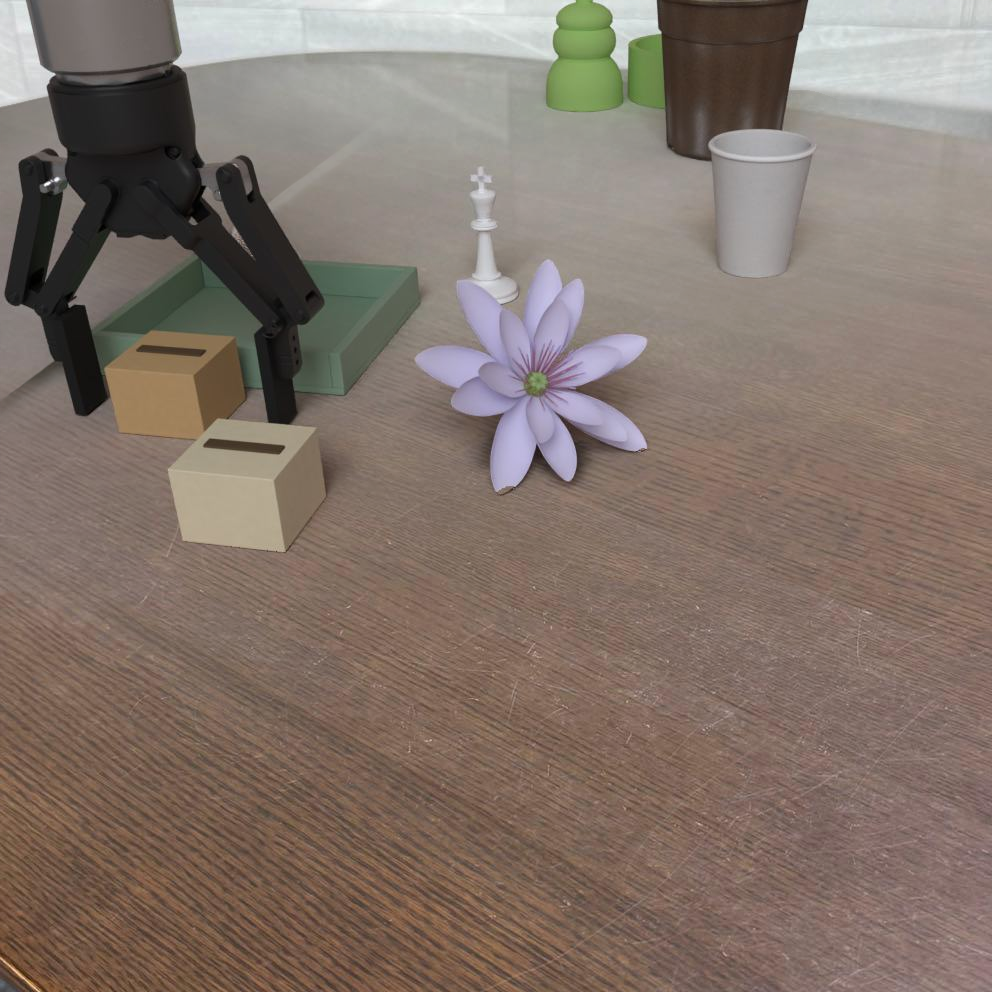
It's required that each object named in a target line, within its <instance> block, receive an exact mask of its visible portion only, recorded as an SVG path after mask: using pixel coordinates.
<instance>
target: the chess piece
mask: <svg viewBox="0 0 992 992" xmlns="http://www.w3.org/2000/svg"><path fill="white" fill-rule="evenodd" d="M494 177H495V176H494V175H491V174H487V172H486V166H484V165H480V166H478V167H477V173H472V174H470V182H476V183H478V188H477V189H474V190H472V191H470V192H469V199H470V202H471V204H472V207H473V211H474V213H475V216H476V217H477V218H476V219H473V220H472V221H470V225H469V226H470V229H472V230H474V231H477V232H478V233H477V234H478V235H477V252H476V264H475V271H474V272H472V273H471V276H469V277H467V278H466V277H465V279H463V280H466V281H470V282H472V283H475V284H477V285H479V286H480V287H482V288H483V289H485V290H486V291H487V292H489V293H490V294H491V295H492V296H493V297H494V298H495V299H496V300H497V301H498V302H499V303H500V305H504V304H507V303H510V302H512V301H514V300H515V299H516V298H517V297H518V296H519V292H520V291H519V289H518V283H517V282H516V281H515V280H514V279H513V278H511V277H508V276H505V275H502V272H501V271H499V270H498V267H497V263H496V257H495V252H494V251H495V250H494V245H493V244H494V243H493V238H492V230H495V229H497V228H498V227H499V224H498V221H497V219H494V218H492V217H491V216H492V213H493V208H494V205H495V202H496V197H497V192H496V191H495V190H493V189H490V188H487V183H489V184H492V183H494V181H495V178H494ZM455 295H456V298H457V299H458V295H457V292H456V293H455Z"/></svg>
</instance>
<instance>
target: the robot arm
mask: <svg viewBox="0 0 992 992" xmlns="http://www.w3.org/2000/svg"><path fill="white" fill-rule="evenodd" d="M25 3H26V7H27V12H28V16H29V19H30V20H29V21H30V25H31V29H32V34H33V38H34V42H35V47H36V52H37V57H38V61H39V64H40V66H41V67H42V68H44V69H45V70H47V71H48V72H50V73H52V74H54V75H53V76H52V77H50V79H49V81H48V83H47V85H46V91H47V96H48V99H49V104H50V108H51V112H52V117H53V121H54V124H55V129H56V133H57V138H58V141H59V143H60V144H61V145H62V146H63V148H64V149H66V157H63V156H60V155H59V154H58V153H57V151H56V150H54V149H53V148H50V147H47V148H46V147H45V148H43V149H41V150H40V151H37V152H35V153H33V154H30V155H28V156H27V157H24V158H23V159H21V160H19V162H18V164H17V165H18V167H17V168H18V175H19V181H20V187H21V193H22V198H21V204H20V209H19V214H18V215H19V216H18V219H17V225H16V229H15V235H14V241H13V246H12V251H11V255H10V261H9V267H8V272H7V277H6V282H5V286H4V293H3V294H4V298H5V301H6V302H7V303H8V304H9V305H10V306H13V307H20V306H21V305H22V306H25V307H27V308H29V309H31V310H33V311H34V312H35V314H36V315H37V316H38V317H40V320H41V324H42V327H43V331H44V335H45V339H46V343H47V345H48V350H49V355H50V357H52V359H53V361H54V363H55V362H57V363H61V364H62V368H63V371H64V375H65V379H66V383H67V384H66V385H67V388H68V391H69V396H70V399H71V403H72V407H73V410H74V414H75V415H82V416H87V415H88V414H89V413H90V412H92V410H94V409H95V408H96V407H97V406H99V405H100V404H101V403H102V402H103V401H105V400H106V399H107V398H108V394H107V391H106V390H107V389H106V386H105V382H104V378H103V375H102V373H101V369H100V365H99V361H98V357H97V353H96V349H95V344H94V340H93V336H92V332H91V329H92V328H91V324H90V320H89V316H88V311H87V307H86V304H75V303H74V304H72V305H71V306H70V305H69V304H70V303H71V302H72V301H74V300H76V299H77V298H78V296H77V295H76V293H77V292H78V289H79V288H80V286H81V285H82V283H83V281H84V280H85V277H86V276H87V274H88V272H89V271H90V269H91V267H92V265H93V263H95V260H96V259H97V257H98V255H99V254H100V252H101V250H102V248H103V246H104V245H105V243H106V242H107V239H108V238H109V236H110V235H111V233H114V234H115V235H116V238H121V239H130V238H134V237H138V236H140V237H141V236H142V237H145V238H147V239H151V240H159V241H165V240H167V239H168V238H169V237H172V238H173V239H174V240H175V241H176V243H177V244H179V246H181V247H182V248H183V249H185V250H188V251H191V252H193V254H194V253H195V254H196V255H197V256H198V257H199V258H200V259H201V260H202V261H203V262H204V264H205V265H206V266H207V267H208V268H209V269H210V270H211V271H212V272H213V273H214V274H215V275H216V276H217V277H218V278H219V279H220V280H221V282H222V283H223V284H224V285H225V286H226V287H227V288H228V289H229V290H230V291H231V292H232V293H233V294H234V295H235V296H236V297H237V298H238V299H239V301H240V302H241V303H242V304H243V305H244V306H245V307H246V308H247V309H248V310H249V311H250V312H251V313H252V314H253V315H254V316H255V317H256V319H257V320H258V321H259V322H260V323H261V324H262V325H263V326H262V327H261V328H260V329H259V330H258V331H257V332H256V333H255V334H254V339H255V345H256V351H257V357H258V363H259V369H260V376H261V382H262V388H263V389H262V388H261V389H262V393H263V400H264V406H265V411H266V417H267V423H274V424H285V425H289V423H290V422H291V421H292V420H293V419H294V418H295V416H296V415H297V414H298V408H297V407H298V405H297V400H296V393H295V391H294V386H293V380H292V379H293V378H294V376H295V375H296V374H297V373H298V372H299V371H300V370H301V366H302V356H301V349H300V342H299V335H298V328H297V325H298V324H299V325H305V324H307V323H308V322H309V321H310V320H311V319H312V318H313V317H314V316H315V315H316V314H317V313H318V312H319V311H320V310H321V309H322V308H323V306H324V304H325V301H324V298H323V296H322V294H321V293H320V291H319V289H318V288H317V286H316V284H315V283H314V281H313V279H312V278H311V276H310V274H309V273H308V271H307V270H306V268H305V266H304V265H303V263H302V261H301V260H302V259H301V258H300V256H299V255H298V253H297V251H296V249H295V248H294V246H293V245H292V243H291V241H290V240H289V238H288V237H287V235H286V233H285V231H284V229H283V228H282V227H281V225H280V223H279V221H278V220H277V217H275V214H273V211H272V210H271V208H270V206H269V205H268V203H267V202H266V200H265V199H264V197H263V195H262V193H261V189H260V185H259V182H258V178H257V174H256V170H255V167H254V163H253V161H252V160H251V158H250V157H248V156H247V155H245V154H240V155H237V156H236V157H234V158H232V159H230V160H229V161H224V162H212V163H205V161H204V160H203V159H202V157H201V155H200V153H199V150H198V148H197V144H196V143H197V141H196V135H197V134H196V131H197V128H196V121H195V115H194V109H193V103H192V98H191V92H190V86H189V81H188V75H187V72H185V71H184V70H183V69H182V68H181V67H180V66H179V65H177V64H175V61H177V60H179V58H180V56H181V55H182V54H183V50H182V45H181V38H180V33H179V27H178V21H177V17H176V10H175V4H174V0H25ZM68 185H69V186H70V188H71V189H72V190H73V191H74V192H75V193H76V195H77V196H78V197H79V198H80V199H81V200H82V201H83V203H84V205H83V206H82V209H81V211H80V213H79V215H78V216H77V218H76V220H75V222H74V224H73V225H72V227H71V231H72V232H71V235H70V236H69V238H68V239H67V242H66V243H65V246H64V247H63V249H62V251H61V253H60V254H59V256H58V257H57V259H56V262H55V263H54V265H53V267H52V269H51V270H50V272H49V274H48V270H49V266H50V261H51V256H52V251H53V246H54V241H55V236H56V232H57V228H58V227H57V226H58V223H59V218H60V214H61V208H62V204H63V198H64V191H65V190H66V189H67V188H68ZM207 188H209V189H210V190H211V191H212V196H213V199H214V200H215V201H217V202H221V203H222V204H223V207H224V209H225V212H226V214H227V216H228V218H229V220H230V221H231V222H230V223H232V225H233V227H234V228H235V230H236V231H237V234H239V236H240V238H241V239H242V241H243V243H244V245H245V246H246V247H247V249H248V250H246V249H245V248H244V247H243V246H242V245H241V243H240V242H239V241H238V240H237V239H236V238H235V237H234V235H232V234H231V233H230V232H229V230H228V229H227V228H226V226H224V224H223V220H222V217H221V216H220V214H219V213H218V212H217V211H216V210H215V209H214V208H213V206H211V204H209V203H208V201H207V200H206V199H205V198H204V197H203V195H204V193H205V190H206V189H207ZM191 219H193V220H194V221H195V222H196V224H192V223H191V222H190V221H191ZM248 251H249V252H250V253H249V252H248ZM252 257H254V259H255V260H256V261H255V260H254V259H253V258H252ZM47 275H48V276H47Z"/></svg>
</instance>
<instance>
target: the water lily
mask: <svg viewBox="0 0 992 992" xmlns="http://www.w3.org/2000/svg"><path fill="white" fill-rule="evenodd" d="M455 286H456V293H457V295H458V298H457V300H458V303H459V305H460V308H461V310H462V313H463V315H464V318H465V320H466V321H467V323H468V325H469V327H470V329H471V330H472V332H473V333H474V335H475V336H476V338H477V339H478V341H479V343H481V345H482V346H483V347H484V348H485V350H486V351H487V352H488V353H489V354H490V355H489V354H488V353H485V352H483V351H480V350H479V349H474V348H470V347H465V346H460V345H450V344H449V345H447V344H446V345H437V346H432V347H430V348H426V349H424V350H423V351H421V352H419V353H418V354H417V355H416V356H415V357H414V361H415V363H416V365H417V366H418V367H419V368H420V369H421V371H423V372H425V373H426V374H427V375H429V376H430V377H431V378H432V379H434V380H436V381H438V382H440V383H442V384H444V385H446V386H449V387H451V388H454V389H456V390H455V391H454V393H453V395H452V397H451V400H450V406H451V407H452V408H453V409H455V410H457V411H458V412H460V413H463V414H465V415H469V416H473V417H491V416H497V415H500V414H502V415H501V417H500V420H499V422H498V424H497V426H496V431H495V433H494V437H493V441H492V446H491V451H490V459H489V471H490V477H491V483H492V486H493V488H494V491H495V493H496V492H498V491H499V490H501V489H502V488H505V487H506V486H514V487H515V488H516V487H517V486H518V485H519V484H520V483H521V482H522V480H523V479H524V477H525V476H526V475H527V473H528V471H529V469H530V466H531V465H532V461H533V458H534V455H535V451H536V449H537V446H538V449H539V450H540V453H541V454H542V457H543V458H544V459H545V461H546V463H548V465H549V466H550V467H551V469H552V470H553V471H554V472H555V473H556V474H557V475H558V476H559V477H560V478H561V479H562V480H563V481H565V482H571V481H572V480H573V478H574V476H575V474H576V470H577V465H578V464H577V463H578V459H577V458H578V456H577V450H576V446H575V443H574V440H573V438H572V435H571V433H570V431H569V430H568V428H567V426H566V425H565V423H564V422H563V421H562V419H561V418H560V416H561V417H562V418H564V419H565V420H566V421H567V422H568V423H570V424H571V425H573V426H574V427H575V428H577V429H578V430H580V431H582V432H583V433H585V434H586V435H588V436H590V437H592V438H594V439H596V440H598V441H600V442H602V443H604V444H607V445H610V446H611V447H615V448H618V449H621V450H625V451H628V452H630V451H631V452H636V451H638V450H639V449H641V448H645V449H647V450H648V444H647V441H646V438H645V437H644V435H643V433H642V432H641V430H640V429H639V428H638V427H637V426H636V424H635V423H634V422H633V421H632V420H631V419H630V418H628V417H627V416H626V415H625V414H623V413H622V412H621V411H619V410H618V409H617V408H614V407H613V406H611V405H609V404H608V403H606V402H604V401H602V400H600V399H598V398H595V397H593V396H591V395H587V394H584V393H582V392H579V391H574V390H577V387H579V386H583V385H585V384H588V383H592V382H595V381H597V380H600V379H604V377H607V376H610V375H612V374H613V373H616V372H618V371H619V370H621V369H623V368H625V367H627V366H628V365H629V364H631V363H632V362H634V361H635V360H636V359H638V357H639V356H640V355H641V354H642V353H643V352H644V350H645V348H646V347H647V345H648V339H647V338H646V337H645V336H642V335H638V334H634V333H633V334H632V333H620V334H619V333H618V334H612V335H609V336H604V337H601V338H599V339H596V340H594V341H592V342H588V343H587V344H585V345H583V346H581V347H579V348H577V349H576V350H575V349H574V348H573V349H571V350H570V351H569V352H567V354H566V355H565V356H563V358H562V359H561V360H559V361H558V362H557V363H556V361H557V360H558V359H559V358H560V357H561V355H562V354H563V353H564V351H565V350H566V349H567V347H568V346H569V343H570V342H571V340H572V338H573V336H574V334H575V331H576V329H577V327H578V325H579V323H580V319H581V316H582V313H583V309H584V302H585V288H584V284H583V281H582V279H581V278H574V279H573V280H571V281H570V282H568V283H567V284H566V285H565V286H563V283H562V278H561V276H560V273H559V270H558V268H557V267H556V265H555V263H554V261H552V260H551V259H550V258H548V259H546V260H544V261H543V262H542V263H541V264H540V265H539V267H538V268H537V269H536V271H535V273H534V275H533V276H532V279H531V281H530V284H529V287H528V290H527V294H526V299H525V303H524V304H525V305H524V311H523V320H522V319H521V318H520V317H519V316H518V315H517V314H516V313H515V312H513V311H512V310H509V309H508V308H507V309H506V308H504V307H503V305H502V304H500V303H499V302H498V301H497V300H496V299H495V298H494V297H493V296H492V295H491V294H490V293H489V292H487V291H486V290H485V289H483V288H482V287H480V286H479V285H477V284H475V283H472V282H470V281H466V280H464V279H458V280H457V281H456V285H455ZM555 363H556V364H555ZM553 365H554V366H553ZM552 366H553V367H552ZM557 414H558V415H557ZM638 452H639V451H638Z"/></svg>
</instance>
